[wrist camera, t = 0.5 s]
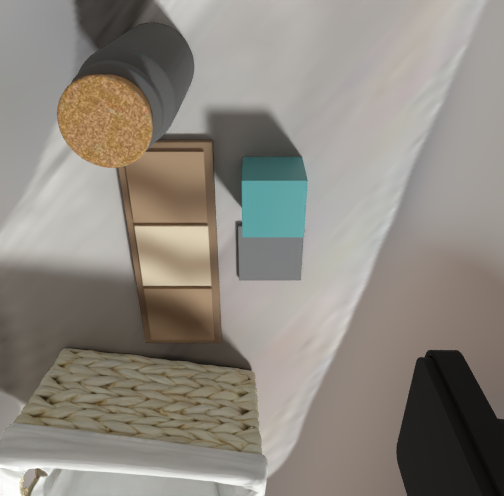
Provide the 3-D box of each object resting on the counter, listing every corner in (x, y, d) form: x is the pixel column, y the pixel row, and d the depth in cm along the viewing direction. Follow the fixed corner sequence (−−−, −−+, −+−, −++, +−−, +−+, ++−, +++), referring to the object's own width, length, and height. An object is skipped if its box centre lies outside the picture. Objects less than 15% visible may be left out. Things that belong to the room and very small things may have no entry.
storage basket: (56, 429, 60) (4, 557, 47) (47, 332, 51) (-20, 456, 39) (247, 448, 61) (245, 576, 49) (268, 357, 53) (273, 483, 40)
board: (116, 140, 40) (113, 143, 39) (212, 139, 40) (211, 143, 39) (147, 338, 51) (145, 344, 51) (221, 338, 51) (221, 344, 51)
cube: (242, 156, 41) (241, 180, 36) (301, 156, 41) (307, 180, 36) (243, 209, 43) (242, 237, 39) (299, 209, 43) (303, 237, 39)
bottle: (102, 65, 37) (22, 126, 24) (149, 3, 34) (87, 34, 22) (162, 117, 39) (118, 199, 26) (210, 62, 37) (187, 122, 24)
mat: (238, 224, 44) (238, 226, 44) (303, 224, 44) (304, 226, 44) (239, 277, 47) (239, 280, 47) (300, 278, 47) (300, 280, 47)
